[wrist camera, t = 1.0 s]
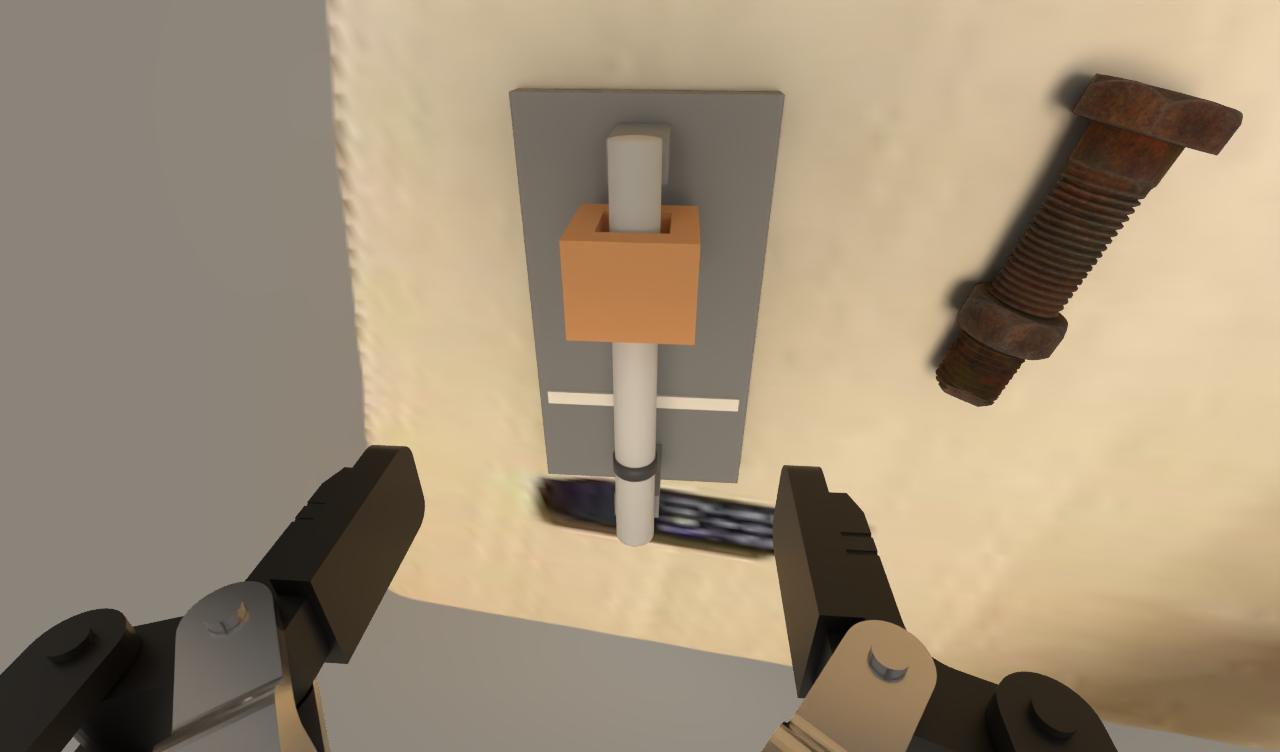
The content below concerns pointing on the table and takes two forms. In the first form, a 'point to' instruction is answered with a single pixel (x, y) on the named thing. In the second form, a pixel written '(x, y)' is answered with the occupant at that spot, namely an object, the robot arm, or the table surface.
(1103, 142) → the bolt
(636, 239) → the collar
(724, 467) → the pipe stand
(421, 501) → the robot arm
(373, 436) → the table surface
